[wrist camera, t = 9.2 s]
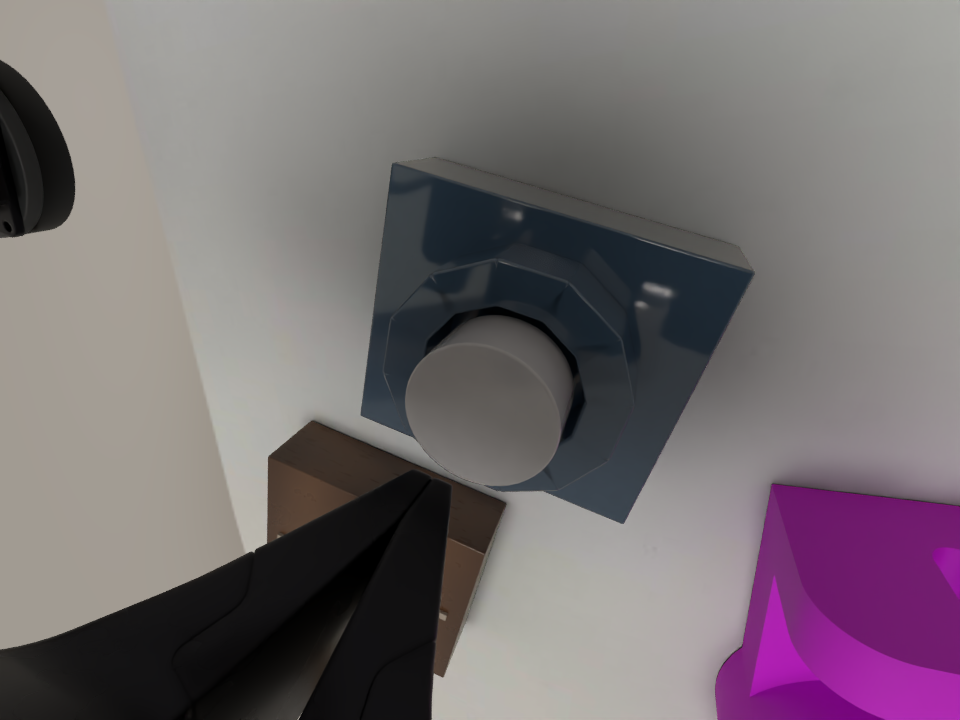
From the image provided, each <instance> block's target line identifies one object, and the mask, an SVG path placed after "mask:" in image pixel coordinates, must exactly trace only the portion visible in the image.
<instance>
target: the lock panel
mask: <svg viewBox="0 0 960 720" xmlns="http://www.w3.org/2000/svg"><path fill="white" fill-rule="evenodd" d="M412 469H417V470H419V471H422V472H424V473H426V474H429V475H430V476H431V477H432V479H433V478H438V479H440V480H443V481H445V482H447V483H450V484H451V485H452V487H453V488H452V499H451V508H450V518H449V527H448V537H447V546H446V556H445V565H444V575H443V585H442V594H441V604H440V613H439V623H438V632H437V640H436V654H435V663H434V673H435V674H437V675H439V676H441V677H444V675H445V672H446V670H447V667H448V665H449V662H450V660H451V657H452V655H453V653H454V650H455V648H456V645H457V643H458V640H459V638H460V635H461V633H462V630H463V628H464V625H465V622H466V620H467V617H468V614H469V611H470V608H471V605H472V602H473V599H474V596H475V594H476V591H477V588H478V585H479V582H480V579H481V576H482V573H483V570H484V568H485V565H486V562H487V559H488V556H489V553H490V550H491V547H492V544H493V542H494V539H495V536H496V533H497V530H498V527H499V524H500V521H501V518H502V516H503V513H504V510H505V507H506V503H503V502H501V501H499V500H496V499H494V498H492V497H489V496H487V495H485V494H482V493H480V492H477V491H475V490H473V489H470V488H468V487H466V486H463V485H461V484H459V483H456V482H454V481H452V480H449V479H447V478H445V477H442V476H440V475H438V474H435V473H433V472H431V471H428V470H426V469H423V468H421V467H419V466H416V465H414V464H412V463H409V462H407V461H405V460H402V459H400V458H398V457H395V456H393V455H391V454H388V453H386V452H384V451H381V450H379V449H376V448H374V447H372V446H369V445H367V444H365V443H362V442H360V441H358V440H355V439H353V438H351V437H348V436H346V435H344V434H341V433H339V432H337V431H334V430H332V429H330V428H327V427H325V426H322V425H320V424H318V423H315V422H313V421H310V422H309V423H308V424H307V425H306V426H304V427H303V428H302V429H301V430H300V431H298V432H297V433H296V434H295V435H294V436H292V437H291V438H290V439H289V440H288V441H286V442H285V443H284V444H283V445H282V446H280V447H279V448H278V449H277V450H276V451H274V452H273V453H272V454H271V455H270V456H269V457H268V519H267V543H269V542H271V541H273V540H275V539H277V538H279V537H281V536H283V535H285V534H287V533H289V532H291V531H293V530H295V529H296V528H298V527H300V526H302V525H304V524H306V523H308V522H310V521H312V520H314V519H316V518H318V517H320V516H322V515H324V514H326V513H328V512H330V511H332V510H334V509H336V508H338V507H339V506H341V505H343V504H345V503H347V502H349V501H351V500H353V499H355V498H357V497H359V496H361V495H363V494H365V493H367V492H369V491H371V490H373V489H375V488H377V487H379V486H380V485H382V484H384V483H386V482H388V481H390V480H392V479H394V478H396V477H398V476H400V475H402V474H404V473H406V472H408V471H410V470H412Z"/></svg>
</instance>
